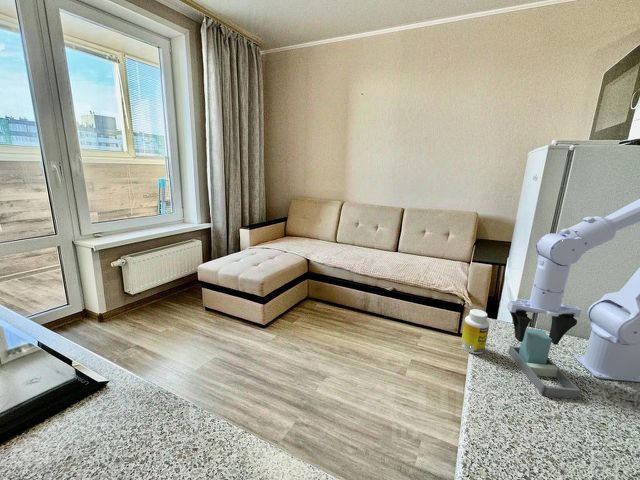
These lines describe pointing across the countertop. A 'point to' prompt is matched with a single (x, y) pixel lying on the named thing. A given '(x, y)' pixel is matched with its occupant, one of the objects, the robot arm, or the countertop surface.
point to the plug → (535, 346)
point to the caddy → (546, 370)
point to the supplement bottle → (475, 332)
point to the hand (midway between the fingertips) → (535, 340)
